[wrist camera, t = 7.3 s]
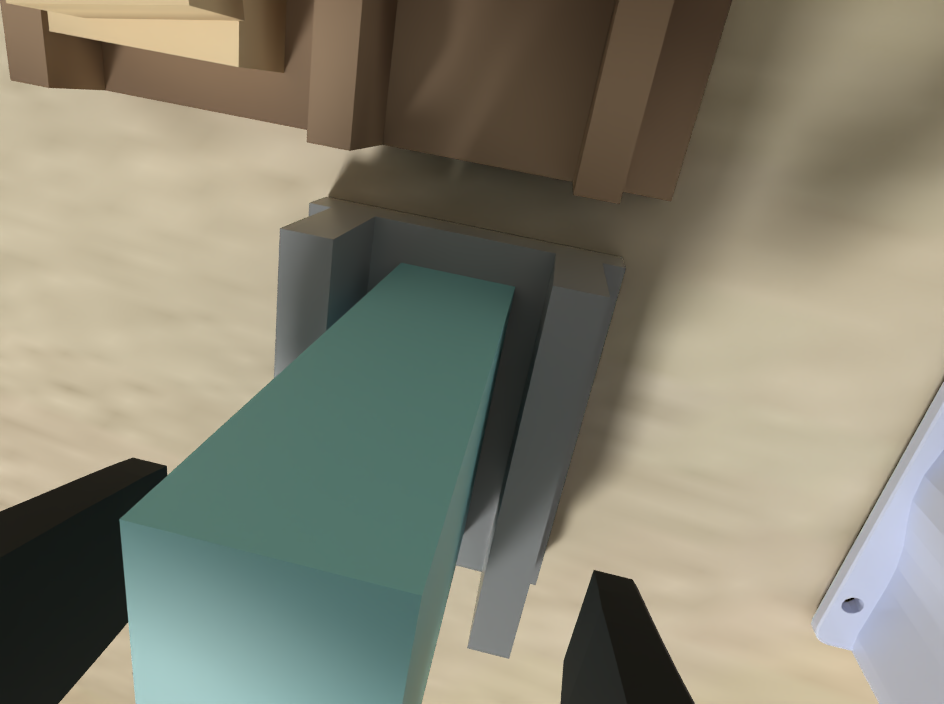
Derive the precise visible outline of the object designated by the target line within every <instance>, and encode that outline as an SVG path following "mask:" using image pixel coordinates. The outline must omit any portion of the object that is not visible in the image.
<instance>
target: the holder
mask: <svg viewBox="0 0 944 704" xmlns="http://www.w3.org/2000/svg"><path fill="white" fill-rule="evenodd" d="M400 263H405V264H410V265H415V266H419V267H424V268H429V269H434V270H438V271H443V272H448V273H453V274H457V275H462V276H467V277H471V278H476V279H481V280H486V281H490V282H495V283H500V284H505V285H509V286H514V287H515V291H514V296H513V300H512V305H511V310H510V315H509V320H508V324H507V329H506V334H505V339H504V343H503V348H502V353H501V358H500V362H499V367H498V372H497V377H496V381H495V386H494V391H493V396H492V401H491V405H490V410H489V415H488V420H487V424H486V429H485V434H484V439H483V443H482V448H481V453H480V458H479V463H478V467H477V472H476V477H475V482H474V486H473V491H472V496H471V501H470V505H469V510H468V515H467V520H466V524H465V529H464V534H463V538H462V542H461V546H460V550H459V554H458V558H457V562H456V565H457V566H461V567H465V568H469V569H473V570H477V571H481V572H482V573H481V578H480V584H479V589H478V594H477V599H476V605H475V610H474V615H473V621H472V626H471V631H470V637H469V642H468V647H467V648H469V649H473V650H477V651H481V652H485V653H488V654H492V655H496V656H500V657H504V658H508V659H509V657H510V653H511V650H512V646H513V643H514V639H515V635H516V632H517V628H518V625H519V621H520V618H521V614H522V610H523V607H524V603H525V600H526V596H527V593H528V589H529V585H530V584H533V585H536V582H537V578H538V575H539V571H540V568H541V564H542V561H543V557H544V554H545V550H546V547H547V543H548V539H549V536H550V532H551V529H552V525H553V522H554V518H555V515H556V511H557V508H558V504H559V501H560V497H561V494H562V490H563V487H564V483H565V480H566V476H567V473H568V469H569V466H570V462H571V459H572V455H573V452H574V448H575V445H576V441H577V438H578V434H579V431H580V427H581V424H582V420H583V417H584V413H585V410H586V406H587V403H588V399H589V396H590V392H591V389H592V385H593V382H594V378H595V375H596V371H597V368H598V364H599V361H600V357H601V354H602V350H603V347H604V343H605V340H606V336H607V333H608V329H609V326H610V322H611V319H612V315H613V312H614V308H615V305H616V301H617V298H618V294H619V291H620V287H621V284H622V280H623V276H624V273H625V269H626V267H625V264H624V261H623V258H622V257H619V256H614V255H609V254H604V253H599V252H594V251H590V250H585V249H580V248H575V247H570V246H565V245H560V244H555V243H550V242H546V241H541V240H536V239H531V238H526V237H521V236H516V235H511V234H506V233H501V232H497V231H492V230H487V229H482V228H477V227H472V226H467V225H462V224H457V223H453V222H448V221H443V220H438V219H433V218H428V217H423V216H418V215H413V214H409V213H404V212H399V211H394V210H389V209H384V208H379V207H374V206H369V205H365V204H360V203H355V202H350V201H345V200H340V199H335V198H330V197H325V198H322V199H319V200H316V201H313V202H311V203H309V217H307V218H304V219H302V220H299V221H297V222H294V223H292V224H289V225H287V226H285V227H282V228H280V242H279V267H278V293H277V318H276V343H275V368H274V378H275V377H276V376H277V375H278V374H280V373H281V372H282V371H283V370H284V369H285V368H286V367H287V366H288V365H289V364H290V363H292V362H293V361H294V360H295V359H296V358H297V357H298V356H299V355H300V354H301V353H303V352H304V351H305V350H306V349H307V348H308V347H309V346H310V345H311V344H312V343H314V342H315V341H316V340H317V339H318V338H319V337H320V336H321V335H322V334H323V333H325V332H326V331H327V330H328V329H329V328H330V327H331V326H332V325H333V324H334V323H336V322H337V321H338V320H339V319H340V318H341V317H342V316H343V315H344V314H345V313H347V312H348V311H349V310H350V309H351V308H352V307H353V306H354V305H355V304H356V303H357V302H359V301H360V300H361V299H362V298H363V297H364V296H365V295H366V294H367V293H368V292H370V291H371V290H372V289H373V288H374V287H375V286H376V285H377V284H378V283H379V282H381V281H382V280H383V279H384V278H385V277H386V276H387V275H388V274H389V273H390V272H392V271H393V270H394V269H395V268H396V267H397V266H398V265H399V264H400Z"/></svg>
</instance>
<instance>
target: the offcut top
mask: <svg viewBox="0 0 944 704" xmlns="http://www.w3.org/2000/svg"><path fill="white" fill-rule="evenodd" d="M6 3H8V4H14V5H19V6H24V7H29V8H35V9H40V10H45V11H50V12H56V13H61V14H66V15H71V16H77V17H82V18H104V19H165V20H225V21H245V19H244V9H243V0H6Z"/></svg>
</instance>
